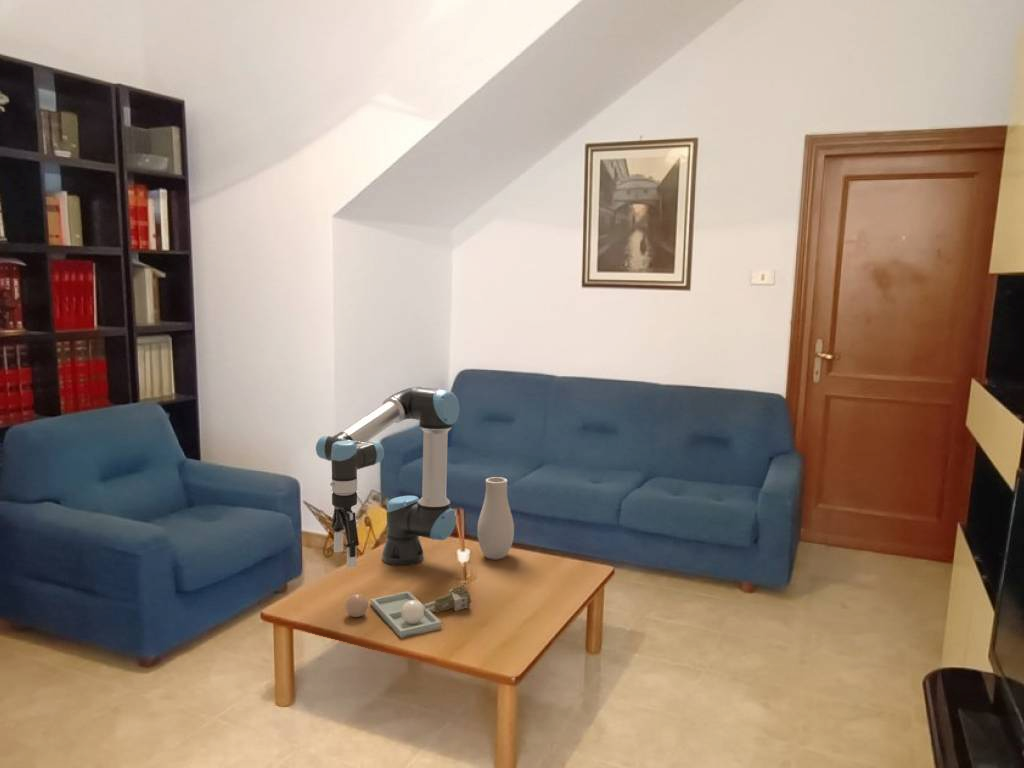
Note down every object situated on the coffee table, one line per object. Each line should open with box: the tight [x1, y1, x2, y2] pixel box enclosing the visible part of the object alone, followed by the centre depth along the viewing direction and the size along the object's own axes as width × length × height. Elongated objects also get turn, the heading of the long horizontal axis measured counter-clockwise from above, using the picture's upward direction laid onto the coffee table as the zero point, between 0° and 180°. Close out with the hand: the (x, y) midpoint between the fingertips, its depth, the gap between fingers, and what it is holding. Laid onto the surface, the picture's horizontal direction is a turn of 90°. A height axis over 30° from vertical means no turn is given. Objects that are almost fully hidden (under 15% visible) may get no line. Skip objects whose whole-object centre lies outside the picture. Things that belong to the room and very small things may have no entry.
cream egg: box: [401, 600, 424, 624], centre depth 233 cm, size 7×7×7 cm
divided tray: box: [370, 591, 442, 639], centre depth 239 cm, size 13×25×2 cm, turn 30°
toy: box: [424, 584, 472, 613], centre depth 244 cm, size 7×7×15 cm
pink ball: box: [344, 593, 369, 618], centre depth 238 cm, size 7×7×7 cm
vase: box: [476, 476, 515, 561], centre depth 287 cm, size 14×14×30 cm
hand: (345, 558), depth 237 cm, fingers open, 13 cm apart
